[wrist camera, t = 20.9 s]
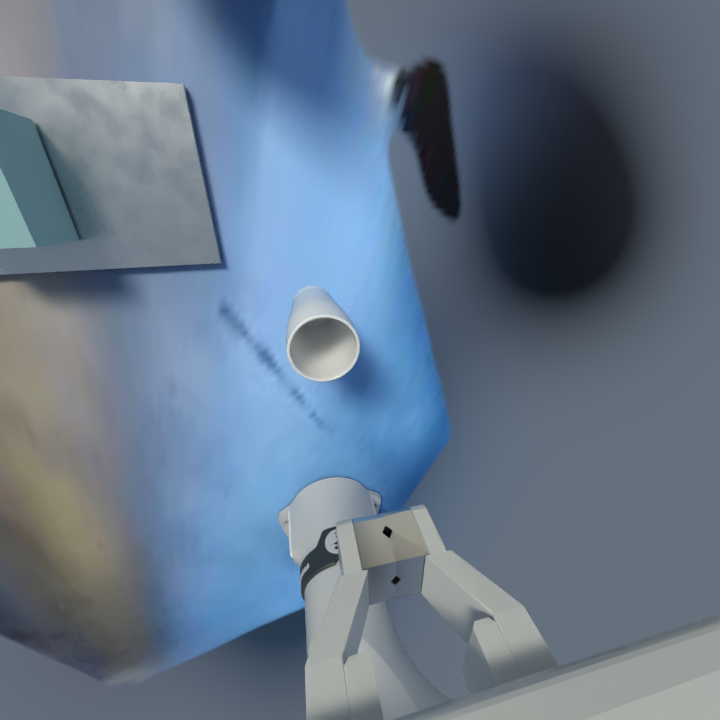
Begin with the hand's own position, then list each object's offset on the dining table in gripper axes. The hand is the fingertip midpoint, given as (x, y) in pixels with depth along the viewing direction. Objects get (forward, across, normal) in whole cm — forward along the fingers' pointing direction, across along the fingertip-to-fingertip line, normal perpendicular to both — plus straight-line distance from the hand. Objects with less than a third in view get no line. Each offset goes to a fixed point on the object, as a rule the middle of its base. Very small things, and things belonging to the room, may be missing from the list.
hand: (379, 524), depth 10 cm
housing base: (+34, +26, -12) cm, 44 cm away
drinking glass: (+34, 0, +2) cm, 34 cm away
